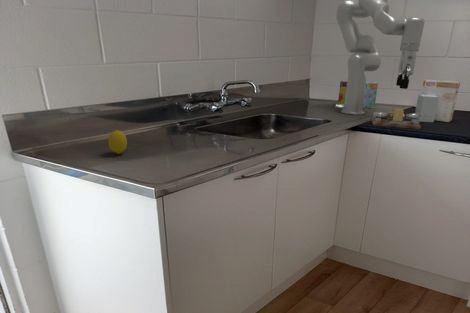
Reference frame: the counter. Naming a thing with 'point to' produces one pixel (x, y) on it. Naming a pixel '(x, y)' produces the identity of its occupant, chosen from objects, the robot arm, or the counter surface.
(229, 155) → the counter surface
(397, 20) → the robot arm
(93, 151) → the counter surface
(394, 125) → the bench board
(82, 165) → the counter surface
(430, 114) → the supplement box
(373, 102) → the snack box
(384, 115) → the shaft stubs
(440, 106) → the coffeecake box
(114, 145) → the lemon
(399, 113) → the coupler
